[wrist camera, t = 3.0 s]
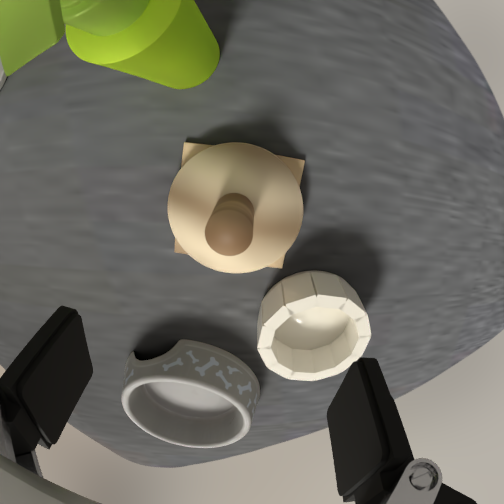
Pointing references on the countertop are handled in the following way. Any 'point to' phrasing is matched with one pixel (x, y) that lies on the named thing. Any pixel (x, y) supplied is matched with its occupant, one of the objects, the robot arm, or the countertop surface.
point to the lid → (235, 207)
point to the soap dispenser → (114, 36)
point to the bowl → (311, 326)
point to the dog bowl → (191, 395)
